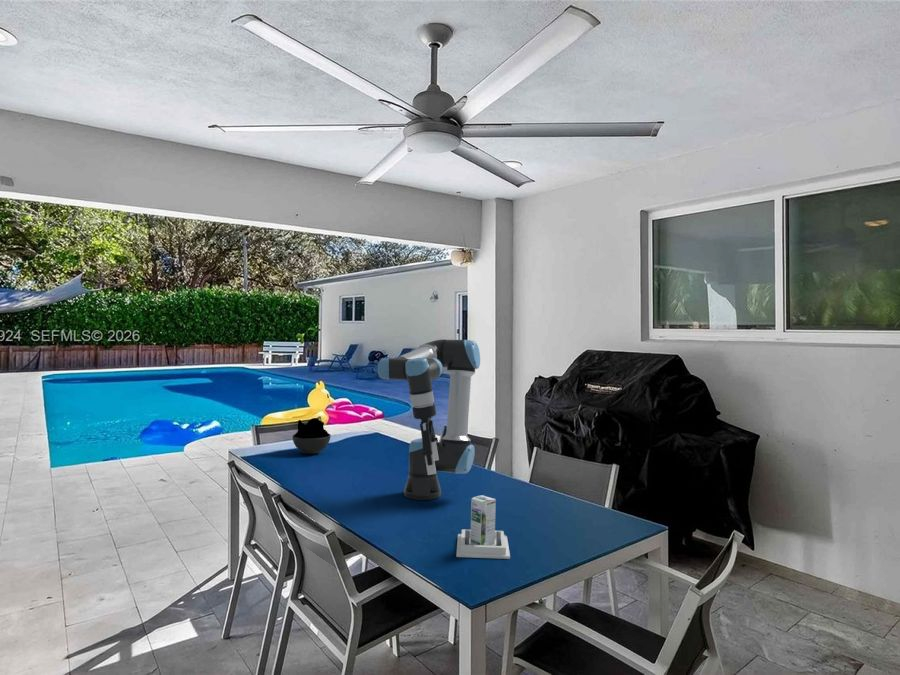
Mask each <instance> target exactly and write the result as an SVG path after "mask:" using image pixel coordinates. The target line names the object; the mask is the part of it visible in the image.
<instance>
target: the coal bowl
mask: <svg viewBox="0 0 900 675" xmlns="http://www.w3.org/2000/svg"><path fill="white" fill-rule="evenodd" d="M297 421H298V422H297V431H296V433H294V434H293V435H292V441H293V444H294V446H295V448H296V449H297V450H298V451H300V453H301V452H302V453H304V454H308V455H314V454H318V453H320V452H323V450H324V449H326V448H327V446H328V445H329V443H330V441H331V438H332V437H331V434H330V433H329V432H328V431H327V430H326V429H324V428H325V427H324V426H325V422H324V421H322V420H319V419H318V418H315V417H313V418H311V419H309V420H308V421H307V423H306V424H305V423H303V422H302V419H298V420H297Z"/></svg>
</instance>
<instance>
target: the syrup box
mask: <svg viewBox="0 0 900 675" xmlns="http://www.w3.org/2000/svg"><path fill="white" fill-rule="evenodd" d="M470 501H471V502H470V503H471V504H470V505H471V506H470V508H471V509H470V530H471V536H470V544H473V545H486V546H491V545H493V544H495V531H496V503H497V500H496V498H493V497H489V496H486V495H483V494H482V495H477V496H474V497H472V498H471V500H470Z"/></svg>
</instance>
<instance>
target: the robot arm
mask: <svg viewBox="0 0 900 675" xmlns="http://www.w3.org/2000/svg"><path fill="white" fill-rule="evenodd" d="M480 354H481V353H480V348H479V345H478V343H477V342H476V341H474V340H470V339H436V340H433V341H432V340H431V341H429V342H425V343H423V344H420V345H419V346H418V347H417V348H416V349H414V350H412V351H409V352H407V353H404V354H402V355H399V356H396V357H393V358H390V357H386V358H385V357H383V358H381V359H380V360H379V362H378V363H377V374H378V377H379V378H380V379H382V380H388V381H390V380H391V381H392V380H393V381H394V380H395V381H407V383H408V389H409V396H408V400H409V401H410V400H411V402H410V403H411V406H412V408H411V409H412V415H413V418H414V419H416V420H421V421H420V423H419V428H420V434H421V438H416V439H413V440H411V441H410V443H409V448H408V449H409V450H408V477H407V481H406V482H405V485H404V486H405V487H404V488H403V489H404V491H403V495H404V497H406V498H408V499H410V500H413V501H431V500H435V499H438V498H440V497H441V496H442V490H441V486H440V485H441V484H440V481H439V478H438V472H441V473H442V472H443V473H451V474H452V473H453V474H456V475H458V474H459V475H460V474H465V475H466V474H467V473H469V472H470V470H471V469H472V467H473V463H474V459H475V453H476V452H475V446H474V445H473V444H472V443H471V441H472V440H471V438H470V437H469V436H468V428H469V417H470V416H469V414H470V413H469V412H470V401H471V400H470V396H471V385H472V384H471V381H472V377H473V376H474V375H475V373H476V370H478V369H480V365H481V355H480ZM443 368H446V372H447V374H449V376H450V377H449V390H448V391H449V392H448V402H447V403H448V404H447V419H446V432H445V435H444V436H442V438H441V439H442V440H441V441H440V442H439V438H438V437H437V436H436V432H435V428H434V423H433V419H432V418H433V417H434V416H436V415H437V411H436V405H435V404H434V402H435V398H434V391H433V386H432V382H433V381H436V380H438V378H439V377H440V376H441V375H442V373H443Z"/></svg>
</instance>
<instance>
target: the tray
mask: <svg viewBox="0 0 900 675" xmlns="http://www.w3.org/2000/svg"><path fill="white" fill-rule="evenodd" d="M470 536H471V529H461V533H457V543H456V558H474V559H477V558H479V559H499V560H501V559H504V560H510V559H511V552H510V548H509V546H510V545H509V541H508V536H507V535H505V533H504V530H495V544H493V545H491V546H486V545H473V544H470Z"/></svg>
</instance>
